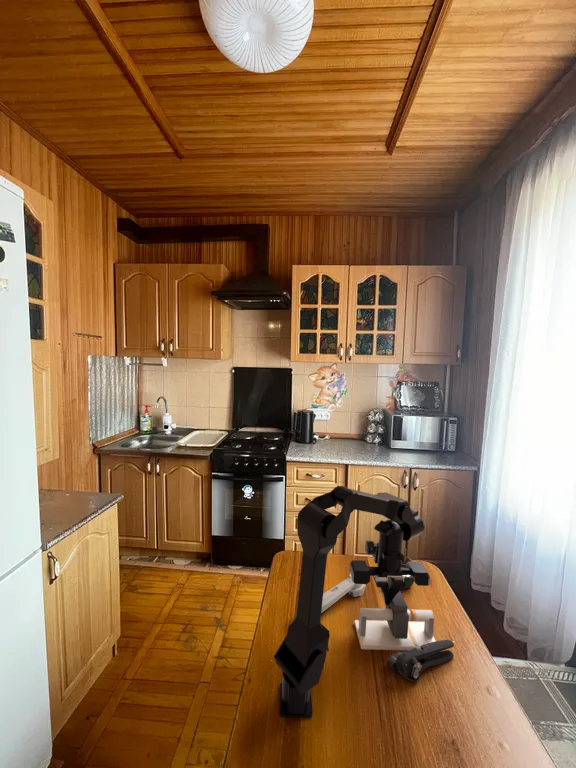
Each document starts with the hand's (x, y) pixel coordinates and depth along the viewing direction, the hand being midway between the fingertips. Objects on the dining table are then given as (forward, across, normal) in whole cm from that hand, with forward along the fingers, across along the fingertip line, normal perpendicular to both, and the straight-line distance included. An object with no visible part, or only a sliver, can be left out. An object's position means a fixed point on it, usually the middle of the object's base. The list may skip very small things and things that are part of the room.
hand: (386, 604), depth 87 cm
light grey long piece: (+9, +12, -11) cm, 18 cm away
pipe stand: (+9, -3, 0) cm, 9 cm away
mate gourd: (+9, -12, -21) cm, 26 cm away
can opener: (+9, -7, +8) cm, 14 cm away
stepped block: (+6, -3, 0) cm, 7 cm away
